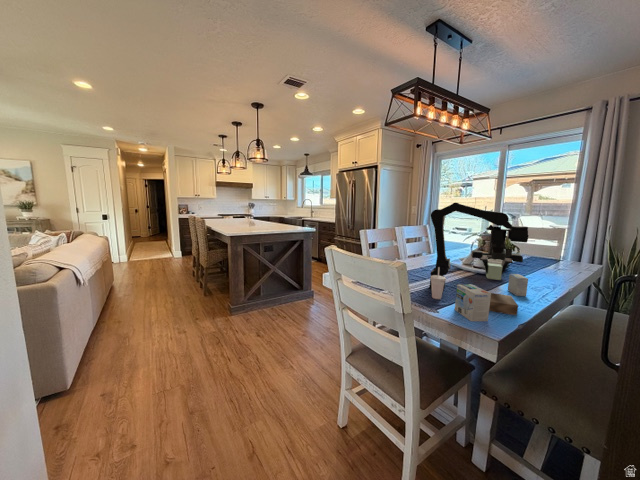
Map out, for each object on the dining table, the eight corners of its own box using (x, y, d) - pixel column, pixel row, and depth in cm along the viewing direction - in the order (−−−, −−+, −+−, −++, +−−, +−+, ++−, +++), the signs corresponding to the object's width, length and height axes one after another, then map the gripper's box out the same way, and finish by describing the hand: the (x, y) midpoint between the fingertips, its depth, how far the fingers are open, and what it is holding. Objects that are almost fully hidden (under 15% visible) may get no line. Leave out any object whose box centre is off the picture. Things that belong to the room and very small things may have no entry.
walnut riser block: (480, 309, 105) (481, 300, 104) (477, 299, 115) (478, 291, 115) (516, 315, 99) (518, 305, 99) (510, 304, 110) (511, 295, 110)
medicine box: (526, 296, 120) (528, 278, 119) (515, 295, 121) (517, 278, 120) (517, 291, 128) (519, 274, 127) (507, 290, 129) (509, 273, 128)
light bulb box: (453, 309, 104) (456, 284, 103) (469, 309, 105) (472, 283, 103) (471, 322, 94) (474, 293, 92) (488, 321, 94) (492, 293, 93)
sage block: (487, 278, 116) (489, 265, 116) (486, 275, 121) (487, 263, 120) (500, 280, 114) (502, 266, 113) (498, 277, 119) (500, 264, 118)
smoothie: (444, 296, 119) (446, 266, 117) (444, 301, 113) (447, 270, 111) (429, 294, 121) (431, 265, 119) (428, 298, 116) (430, 268, 114)
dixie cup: (506, 278, 149) (508, 261, 147) (495, 279, 146) (497, 262, 145) (493, 274, 157) (495, 258, 155) (482, 275, 154) (484, 259, 153)
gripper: (475, 241, 112) (471, 276, 114) (528, 244, 104) (523, 282, 106) (472, 238, 122) (469, 270, 124) (521, 241, 114) (517, 275, 116)
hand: (493, 274), depth 117 cm, fingers closed on sage block, 5 cm apart
